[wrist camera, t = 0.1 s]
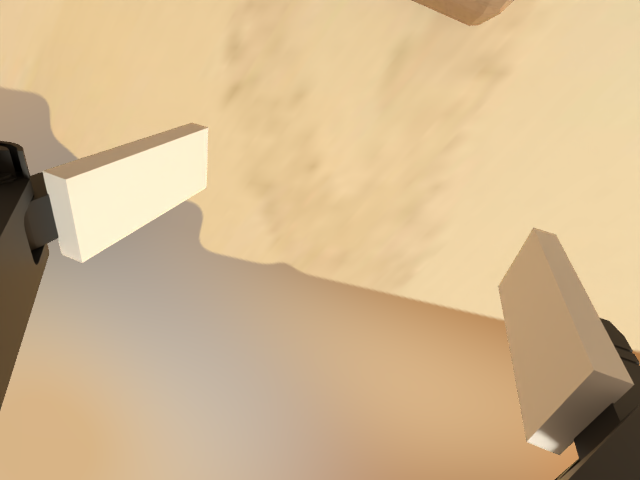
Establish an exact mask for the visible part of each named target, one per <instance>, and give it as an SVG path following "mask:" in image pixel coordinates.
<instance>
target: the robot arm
mask: <svg viewBox="0 0 640 480" xmlns="http://www.w3.org/2000/svg"><path fill="white" fill-rule="evenodd" d="M207 151H208V127H204V126H201V125H198V124H195V123H190V124H187V125H183V126H180V127H177V128H174V129H171V130H168V131H165V132H162V133H159V134H156V135H152V136H149V137H146V138H143V139H140V140H137V141H134V142H131V143H128V144H125V145H122V146H118V147H115V148H112V149H109V150H106V151H103V152H100V153H97V154H94V155H91V156H87V157H84V158H81V159H78V160H75V161H72V162H69V163H66V164H63V165H60V166H57V167H53V168H51V169H47V170H44V171H42V172H41V173H38V174H35V175H32V176H30V174H29V171H28V166H27V163H26V159H25V155H24V151H23V148H22V147H21V146H20V145H18V144H15V143H11V142H4V141H0V409H1V406H2V403H3V400H4V396H5V393H6V390H7V387H8V384H9V381H10V377H11V374H12V371H13V368H14V365H15V361H16V358H17V355H18V352H19V349H20V346H21V342H22V339H23V336H24V332H25V330H26V326H27V323H28V320H29V317H30V313H31V310H32V307H33V304H34V301H35V298H36V294H37V291H38V288H39V285H40V282H41V278H42V275H43V272H44V269H45V266H46V262H47V259H48V256H49V249H48V245H47V243H49V242H51V241H53V240H55V239H57V238H58V241H59V245H60V250H61V254H62V255H64V256H67V257H69V258H72V259H74V260H77V261H79V262H82V263H83V262H84V261H86V260H88V259H89V258H91V257H93V256H94V255H96V254H97V253H99V252H101V251H102V250H104V249H106V248H107V247H109V246H111V245H112V244H114V243H116V242H117V241H119V240H120V239H122V238H124V237H126V236H127V235H129V234H131V233H132V232H134V231H135V230H137V229H139V228H141V227H142V226H144V225H145V224H147V223H149V222H150V221H152V220H154V219H155V218H157V217H159V216H160V215H162V214H164V213H165V212H167V211H169V210H170V209H172V208H174V207H175V206H177V205H179V204H180V203H182V202H184V201H185V200H187V199H188V198H190V197H192V196H193V195H195V194H197V193H198V192H200V191H202V190H203V189H205V188H206V186H207ZM498 287H499V293H500V298H501V304H502V309H503V315H504V320H505V325H506V331H507V337H508V341H509V348H510V353H511V359H512V364H513V370H514V375H515V381H516V386H517V392H518V397H519V402H520V408H521V414H522V419H523V424H524V430H525V435H526V441H527V442H528V443H531V444H533V445H536V446H538V447H541V448H543V449H546V450H548V451H551V452H553V453H556V454H558V455H560V454H561V453H562V452H563V451H564V450H565V449H566V448H567V447H568V446H570V445H571V444H572V443H573V442H575V445H576V449H577V452H578V456H579V459H578V460H577V461H576V462H574V463H573V464H572V465H571V466H570V467H569V468H568V469H566V470H565V471H564V472H563V473H562V474H561V475H559V477H557V478H556V479H555V480H640V366H639V361H638V360H637V358H636V356H635V354H633V353H632V349H631V347H630V345H629V344H628V342H627V340H626V338H625V337H624V336H623V335H622V334H621V333H620V332H619V331H618V330H617V328H616V327H615V326H614V325H613V324H612V323H611V322H610V321H607V320H604V319H601V318H599V316H598V314H597V312H596V310H595V308H594V307H593V305H592V303H591V301H590V299H589V297H588V295H587V293H586V291H585V289H584V287H583V286H582V284H581V282H580V280H579V278H578V276H577V274H576V272H575V270H574V268H573V266H572V265H571V263H570V261H569V259H568V257H567V255H566V253H565V251H564V249H563V247H562V245H561V244H560V242H559V240H558V238H557V236H556V235H555V234H552V233H549V232H545V231H542V230H539V229H536V228H533V230H532V231H531V233H530V235H529V236H528V238H527V240H526V241H525V243H524V245H523V246H522V248H521V250H520V251H519V253H518V255H517V256H516V258H515V260H514V261H513V263H512V265H511V266H510V268H509V270H508V271H507V273H506V275H505V276H504V278H503V280H502V281H501V283H500V285H499V286H498Z"/></svg>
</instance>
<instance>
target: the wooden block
mask: <svg viewBox="0 0 640 480" xmlns="http://www.w3.org/2000/svg"><path fill="white" fill-rule="evenodd" d="M412 1H415V2H417V3H419V4H421V5H424V6H426V7H428V8H430V9H433V10H435V11H437V12H440V13H442V14H444V15H446V16H449V17H451V18H453V19H455V20H458V21H460V22H462V23H464V24H467V25H469V26H470V25H479V24H481V23H483V22H485V21H487V20H489V19H491V18H493V17H494V16H496V15H498V14H500V13H501V12H502V11H503V10H504V9H505V8H506V7H507V6H508V5H510V4H511V3H512V2H513V1H514V0H412Z"/></svg>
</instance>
